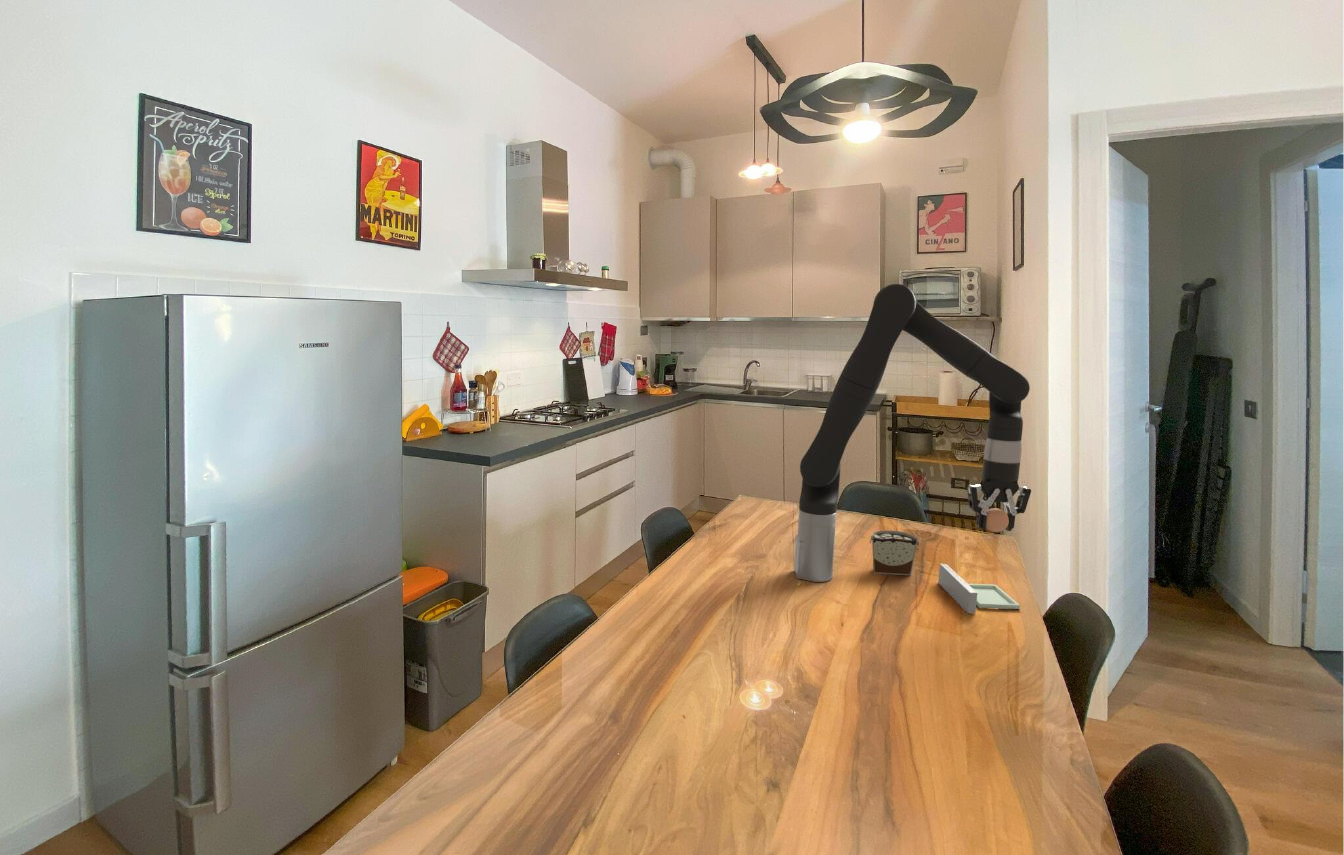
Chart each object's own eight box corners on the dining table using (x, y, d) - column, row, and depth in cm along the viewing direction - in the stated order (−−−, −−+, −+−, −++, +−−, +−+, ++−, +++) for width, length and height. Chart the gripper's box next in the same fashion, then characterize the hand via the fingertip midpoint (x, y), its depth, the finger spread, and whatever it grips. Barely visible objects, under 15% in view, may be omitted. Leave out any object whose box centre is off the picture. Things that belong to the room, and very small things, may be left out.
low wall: (968, 613, 146) (970, 592, 145) (938, 582, 164) (939, 563, 163) (975, 614, 146) (977, 592, 145) (944, 582, 164) (946, 563, 163)
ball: (987, 534, 150) (990, 511, 149) (977, 527, 155) (979, 505, 154) (1012, 535, 149) (1014, 512, 149) (1000, 528, 155) (1003, 505, 154)
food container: (910, 567, 174) (913, 531, 173) (916, 575, 168) (920, 538, 167) (863, 564, 176) (866, 528, 174) (867, 572, 170) (870, 535, 168)
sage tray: (979, 608, 149) (979, 603, 149) (958, 588, 161) (958, 583, 161) (1019, 610, 149) (1019, 605, 149) (995, 589, 161) (995, 584, 160)
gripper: (977, 460, 146) (970, 533, 149) (1042, 462, 146) (1034, 535, 148) (963, 454, 153) (957, 523, 156) (1025, 456, 153) (1018, 525, 156)
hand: (994, 529), depth 152 cm, fingers closed on ball, 5 cm apart
